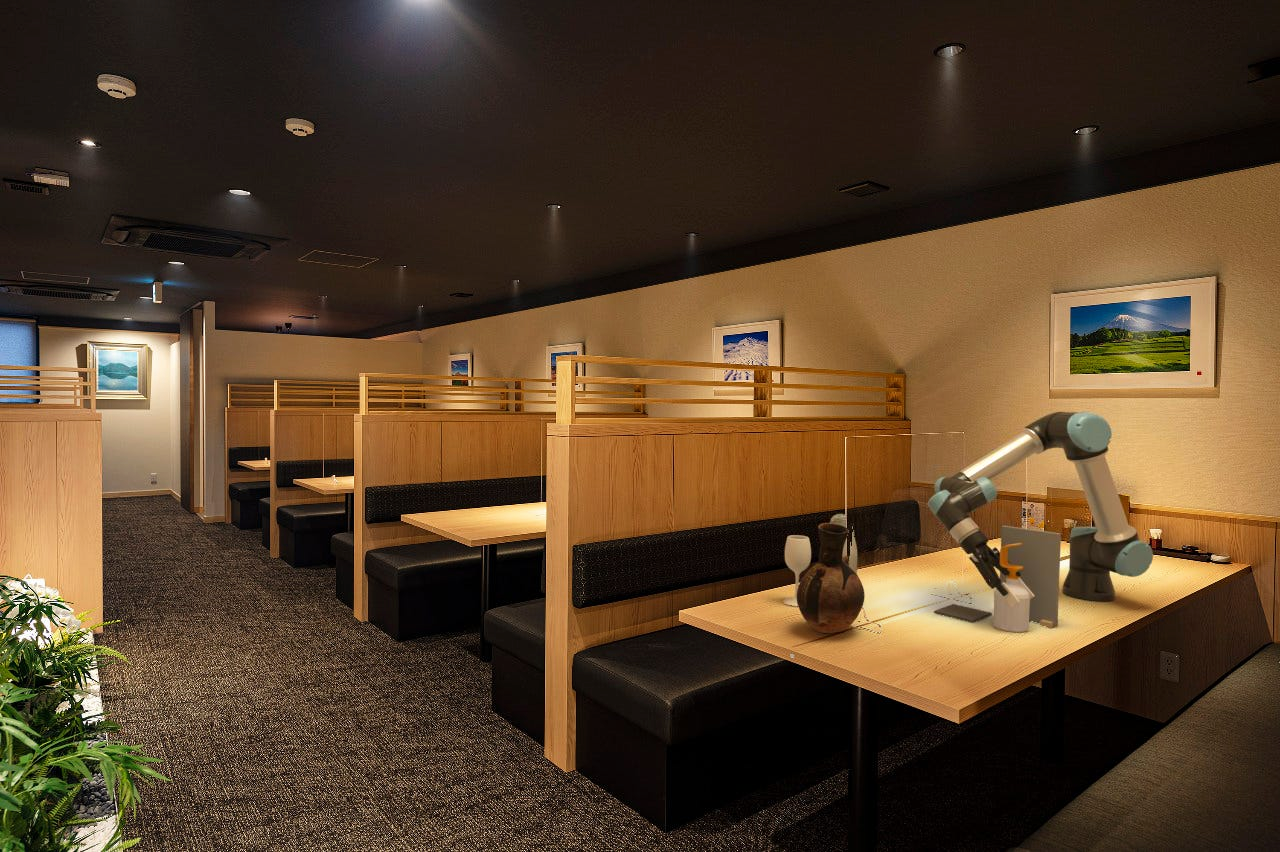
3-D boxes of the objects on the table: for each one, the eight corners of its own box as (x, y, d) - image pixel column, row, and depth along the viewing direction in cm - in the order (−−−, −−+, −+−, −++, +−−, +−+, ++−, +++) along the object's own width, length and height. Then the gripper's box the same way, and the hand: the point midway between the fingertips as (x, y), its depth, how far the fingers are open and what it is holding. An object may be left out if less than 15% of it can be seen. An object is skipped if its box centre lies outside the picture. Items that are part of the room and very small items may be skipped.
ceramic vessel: (822, 616, 222) (825, 516, 220) (877, 629, 209) (879, 524, 208) (781, 631, 207) (784, 524, 206) (837, 647, 194) (840, 533, 193)
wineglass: (777, 602, 235) (778, 537, 234) (792, 597, 241) (794, 533, 240) (800, 608, 229) (802, 541, 228) (816, 603, 235) (817, 537, 234)
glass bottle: (824, 595, 245) (826, 510, 243) (856, 598, 242) (858, 512, 240) (822, 603, 235) (824, 515, 234) (855, 606, 232) (858, 517, 231)
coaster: (953, 606, 234) (953, 603, 234) (991, 615, 224) (991, 612, 224) (933, 613, 226) (934, 610, 226) (973, 622, 217) (973, 620, 217)
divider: (1003, 612, 227) (1006, 525, 226) (1059, 625, 215) (1063, 532, 214) (996, 615, 224) (999, 526, 223) (1052, 628, 212) (1056, 534, 211)
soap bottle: (1020, 635, 206) (1023, 547, 205) (987, 626, 213) (990, 541, 212) (1034, 628, 212) (1037, 543, 211) (1001, 621, 219) (1004, 538, 218)
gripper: (977, 539, 230) (1029, 602, 219) (942, 548, 216) (996, 615, 205) (995, 525, 226) (1049, 588, 215) (960, 533, 212) (1016, 600, 200)
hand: (1023, 601), depth 210 cm, fingers closed on soap bottle, 9 cm apart
